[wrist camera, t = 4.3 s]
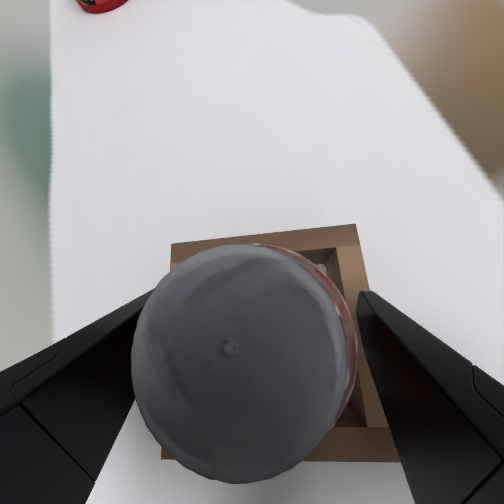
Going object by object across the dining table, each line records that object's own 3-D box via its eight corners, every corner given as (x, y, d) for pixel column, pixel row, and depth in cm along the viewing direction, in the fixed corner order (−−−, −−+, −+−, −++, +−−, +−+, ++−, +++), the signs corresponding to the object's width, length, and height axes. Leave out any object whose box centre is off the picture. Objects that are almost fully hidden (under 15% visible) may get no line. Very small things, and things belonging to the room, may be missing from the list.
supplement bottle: (282, 405, 13) (261, 734, 3) (207, 338, 15) (13, 379, 4) (338, 320, 14) (488, 316, 4) (261, 266, 16) (208, 154, 5)
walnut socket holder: (374, 425, 13) (405, 462, 9) (191, 426, 14) (161, 459, 10) (341, 244, 16) (355, 223, 12) (194, 259, 17) (171, 243, 14)
